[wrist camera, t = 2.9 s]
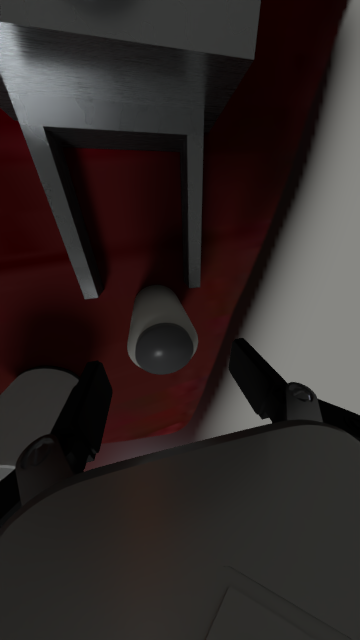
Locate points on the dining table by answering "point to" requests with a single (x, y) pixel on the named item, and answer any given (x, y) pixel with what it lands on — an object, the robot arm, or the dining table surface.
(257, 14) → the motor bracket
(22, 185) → the dining table surface
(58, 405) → the mug
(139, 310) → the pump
